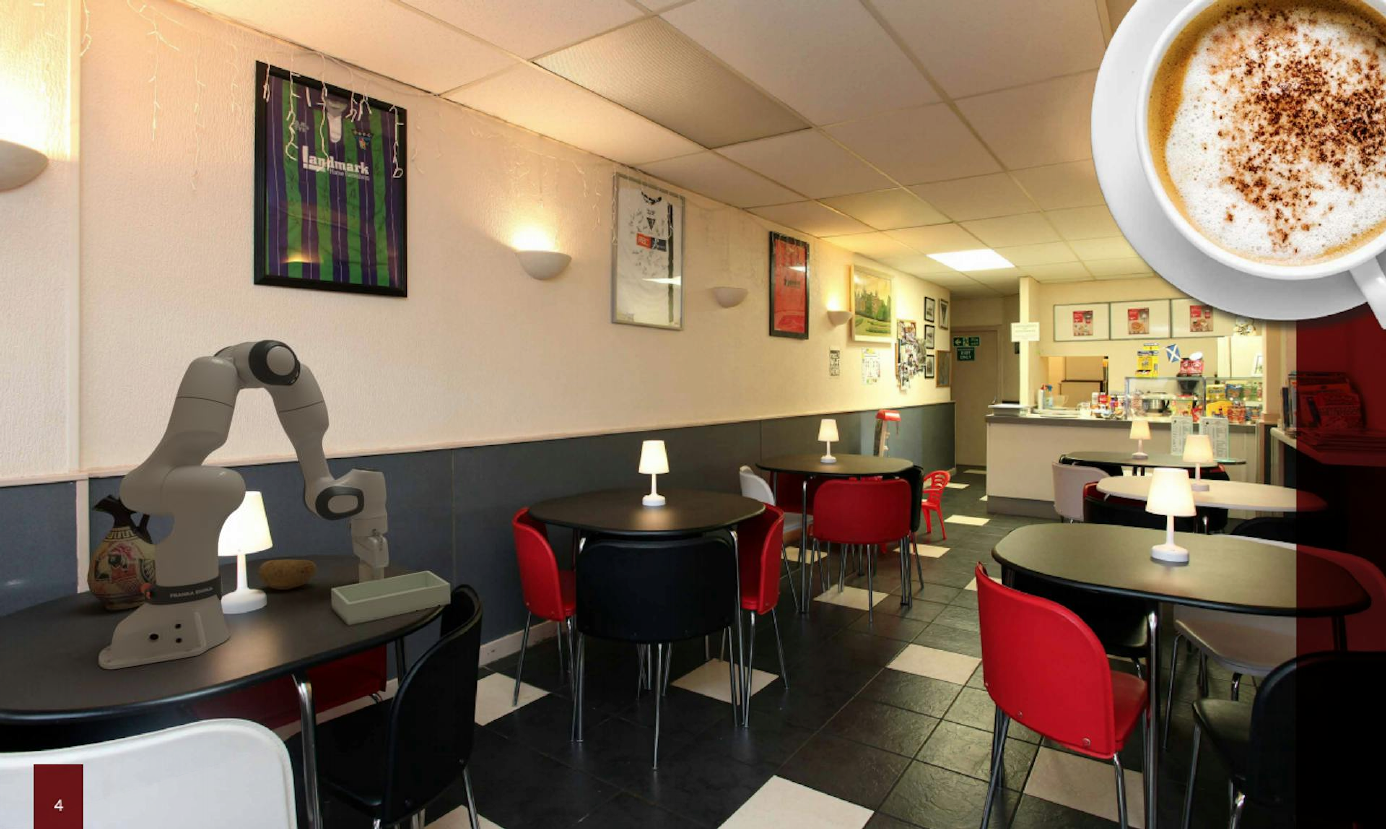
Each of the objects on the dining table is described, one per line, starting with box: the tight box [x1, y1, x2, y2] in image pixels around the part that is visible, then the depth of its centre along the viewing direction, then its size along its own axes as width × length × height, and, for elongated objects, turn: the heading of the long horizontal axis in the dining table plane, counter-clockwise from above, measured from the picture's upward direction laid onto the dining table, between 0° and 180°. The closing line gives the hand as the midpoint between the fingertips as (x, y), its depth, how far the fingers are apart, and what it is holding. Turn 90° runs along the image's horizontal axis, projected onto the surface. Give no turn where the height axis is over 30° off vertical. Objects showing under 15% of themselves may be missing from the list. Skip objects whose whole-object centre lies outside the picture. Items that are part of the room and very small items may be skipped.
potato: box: [257, 558, 317, 591], centre depth 190 cm, size 10×14×8 cm
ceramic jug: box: [86, 494, 157, 611], centre depth 177 cm, size 17×15×30 cm
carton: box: [358, 563, 385, 584], centre depth 189 cm, size 5×5×7 cm
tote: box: [330, 570, 452, 627], centre depth 176 cm, size 24×16×5 cm, turn 130°
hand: (371, 576), depth 190 cm, fingers open, 8 cm apart
